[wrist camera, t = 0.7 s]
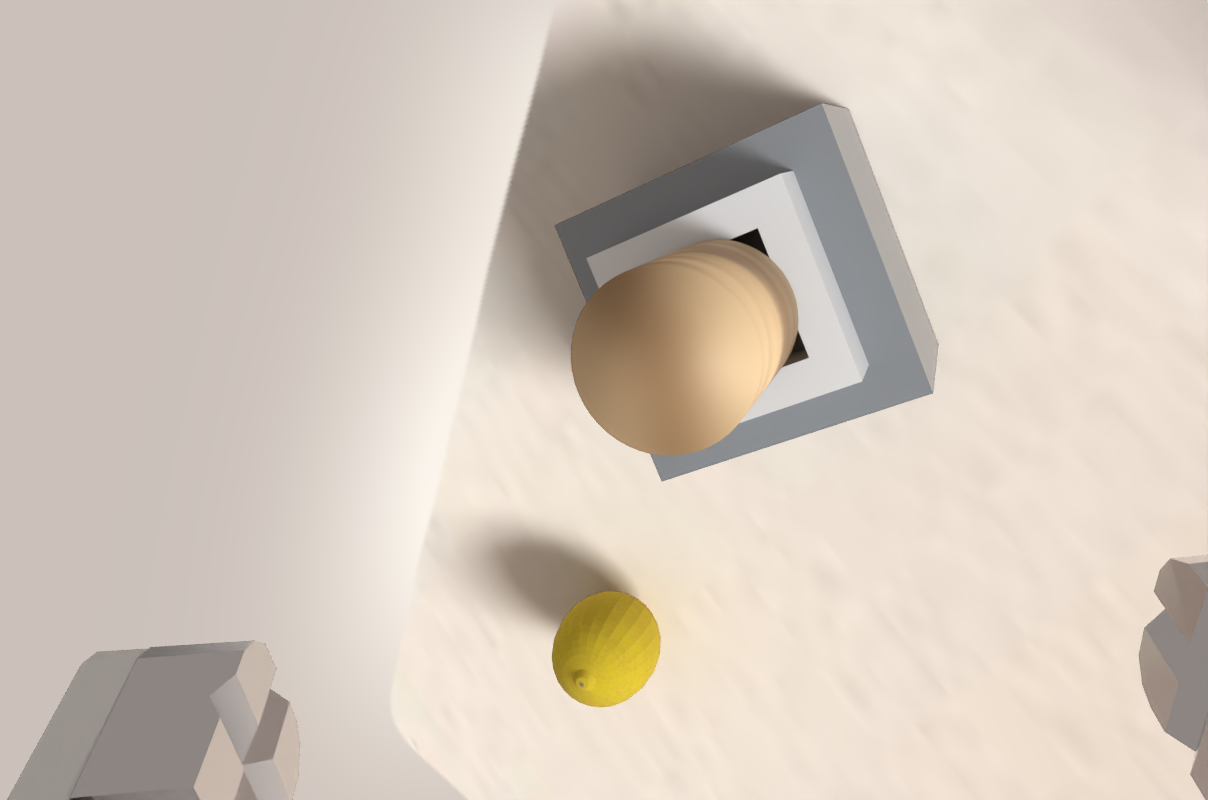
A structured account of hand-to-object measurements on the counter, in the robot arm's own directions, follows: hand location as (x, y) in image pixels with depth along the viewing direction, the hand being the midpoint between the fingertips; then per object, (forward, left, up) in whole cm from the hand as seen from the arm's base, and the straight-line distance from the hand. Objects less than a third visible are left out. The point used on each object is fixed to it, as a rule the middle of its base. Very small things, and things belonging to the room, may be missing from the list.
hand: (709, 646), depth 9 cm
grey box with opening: (+7, -1, -42) cm, 43 cm away
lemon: (+22, +14, -42) cm, 50 cm away
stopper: (+7, -1, -32) cm, 33 cm away
